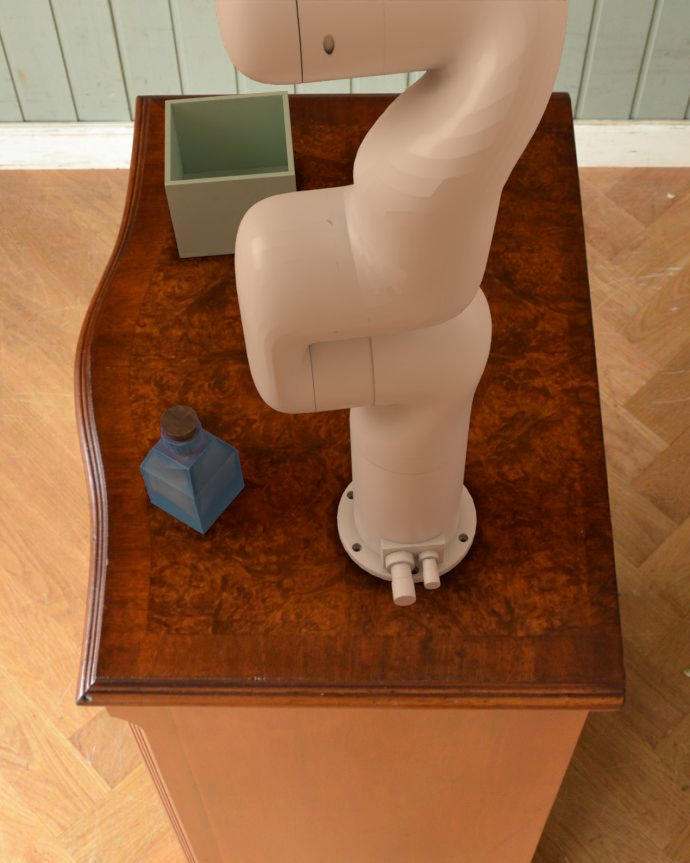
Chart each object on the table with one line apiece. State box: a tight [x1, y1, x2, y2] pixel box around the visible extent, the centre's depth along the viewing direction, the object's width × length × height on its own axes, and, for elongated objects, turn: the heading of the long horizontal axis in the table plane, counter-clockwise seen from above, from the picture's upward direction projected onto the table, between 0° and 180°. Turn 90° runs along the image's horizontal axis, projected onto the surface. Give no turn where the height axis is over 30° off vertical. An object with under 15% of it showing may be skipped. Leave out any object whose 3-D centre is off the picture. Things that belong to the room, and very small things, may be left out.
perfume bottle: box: [139, 405, 245, 535], centre depth 102 cm, size 6×6×12 cm
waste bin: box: [164, 90, 297, 259], centre depth 124 cm, size 13×13×11 cm
